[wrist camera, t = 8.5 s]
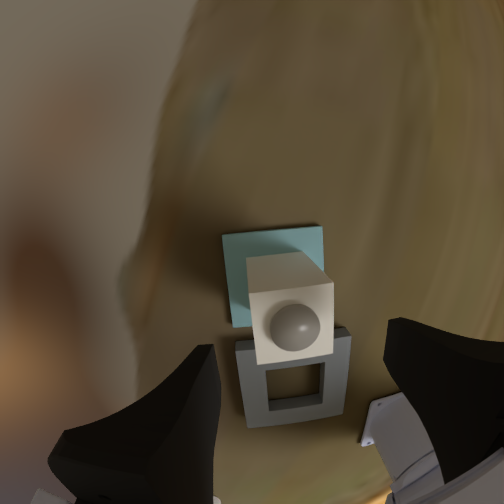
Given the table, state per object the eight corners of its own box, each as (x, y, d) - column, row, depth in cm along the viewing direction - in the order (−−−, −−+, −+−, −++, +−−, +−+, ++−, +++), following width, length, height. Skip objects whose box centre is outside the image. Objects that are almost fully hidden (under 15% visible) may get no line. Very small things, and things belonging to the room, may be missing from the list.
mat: (320, 225, 20) (322, 226, 19) (322, 314, 21) (324, 317, 21) (222, 234, 20) (221, 235, 19) (233, 324, 21) (233, 327, 21)
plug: (302, 251, 20) (336, 285, 12) (305, 303, 20) (335, 357, 13) (245, 257, 20) (248, 296, 12) (252, 310, 20) (257, 369, 13)
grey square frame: (345, 327, 22) (351, 335, 20) (338, 404, 24) (342, 414, 22) (235, 341, 21) (235, 351, 20) (246, 417, 23) (247, 428, 22)
